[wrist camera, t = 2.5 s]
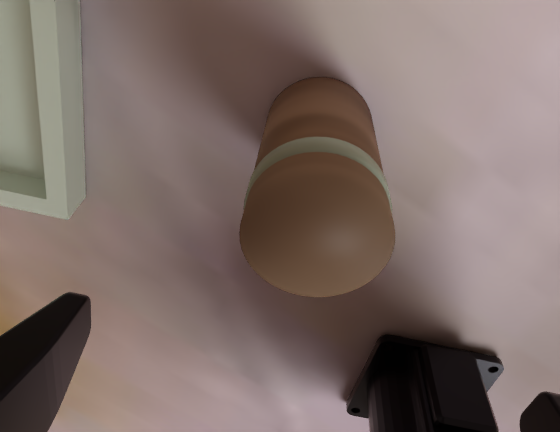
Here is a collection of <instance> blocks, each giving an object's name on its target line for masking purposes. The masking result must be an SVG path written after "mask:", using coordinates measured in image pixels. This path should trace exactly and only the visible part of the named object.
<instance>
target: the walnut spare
mask: <svg viewBox="0 0 560 432" xmlns="http://www.w3.org/2000/svg"><path fill="white" fill-rule="evenodd" d="M394 243H395V229H394V223H393V218H392V205H391V199H390V194H389V190H388V185H387V182H386V179H385V176H384V174H383V170H382V165H381V160H380V156H379V151H378V146H377V141H376V136H375V131H374V127H373V122H372V117H371V113H370V110H369V108H368V105H367V103H366V102H365V100H364V99H363V97H362V96H361V95H360V94H359V93H358V92H357V91H356V90H355V89H354V88H353V87H351V86H349V85H348V84H346V83H344V82H342V81H339V80H336V79H333V78H327V77H314V78H308V79H304V80H301V81H298V82H296V83H294V84H292V85H290V86H289V87H287V88H286V89H285V90H284V91H283V92H281V93H280V94H279V96H278V97H277V98H276V99H275V101H274V102H273V104H272V106H271V108H270V111H269V114H268V117H267V121H266V125H265V129H264V133H263V137H262V141H261V145H260V149H259V153H258V157H257V161H256V165H255V169H254V172H253V174H252V176H251V178H250V182H249V185H248V189H247V193H246V197H245V201H244V212H243V216H242V220H241V224H240V244H241V248H242V251H243V254H244V256H245V258H246V260H247V262H248V263H249V265H250V266H251V267H252V269H253V270H254V271H255V272H256V273H257V274H258V275H259V276H260V277H261V278H263V279H264V280H265V281H266V282H268V283H270V284H271V285H273V286H275V287H277V288H279V289H281V290H283V291H286V292H289V293H292V294H296V295H300V296H307V297H330V296H337V295H341V294H345V293H348V292H351V291H354V290H356V289H358V288H360V287H362V286H364V285H365V284H367V283H369V282H370V281H371V280H372V279H374V278H375V277H376V276H377V275H378V274H379V273H380V272H381V271H382V270H383V268H384V267H385V266H386V264H387V263H388V261H389V259H390V257H391V254H392V252H393V249H394Z"/></svg>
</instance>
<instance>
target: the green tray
mask: <svg viewBox="0 0 560 432" xmlns="http://www.w3.org/2000/svg"><path fill="white" fill-rule="evenodd" d="M85 198H86V184H85V150H84V117H83V83H82V50H81V16H80V0H0V206H4V207H9V208H14V209H18V210H23V211H28V212H32V213H37V214H42V215H46V216H51V217H56V218H60V219H65V220H68V219H69V218H70V217H71V216H72V214H73V213H74V212H75V210H76V209H77V208H78V207H79V205H80V204H81V203H82V202H83V200H84V199H85Z"/></svg>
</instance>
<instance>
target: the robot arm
mask: <svg viewBox="0 0 560 432" xmlns="http://www.w3.org/2000/svg"><path fill="white" fill-rule="evenodd" d="M90 329H91V301H90V298H89V297H88V296H86V295H82V294H77V293H73V292H68V293H65V294H63V295H62V296H60V297H58V298H57V299H55V300H54V301H52V302H51V303H49V304H48V305H46V306H45V307H43V308H42V309H40V310H39V311H37V312H36V313H34V314H33V315H31V316H30V317H28V318H27V319H25V320H24V321H22V322H20V323H19V324H17V325H16V326H14V327H13V328H11V329H10V330H8V331H7V332H5V333H4V334H2V335H1V336H0V432H47V431H48V430H49V428H50V426H51V424H52V422H53V420H54V418H55V416H56V414H57V412H58V410H59V408H60V405H61V403H62V401H63V398H64V396H65V393H66V391H67V388H68V386H69V384H70V381H71V379H72V376H73V374H74V371H75V369H76V366H77V364H78V361H79V359H80V356H81V354H82V352H83V349H84V347H85V344H86V342H87V339H88V337H89V334H90ZM503 370H504V368H503V365H502V362H501V360H500V359H499V358H497V357H493V356H488V355H484V354H479V353H474V352H469V351H464V350H460V349H455V348H450V347H445V346H440V345H436V344H431V343H426V342H421V341H416V340H412V339H407V338H402V337H397V336H392V335H384V336H382V337H380V338H379V339H378V341H377V343H376V345H375V347H374V349H373V351H372V353H371V355H370V357H369V359H368V361H367V363H366V365H365V367H364V369H363V371H362V373H361V375H360V377H359V379H358V381H357V383H356V385H355V387H354V389H353V391H352V393H351V395H350V397H349V399H348V401H347V404H346V405H347V412H348V413H349V414H350V415H353V416H358V417H363V418H369V427H370V432H499V431H498V426H497V423H496V420H495V416H494V413H493V410H492V407H491V404H490V401H489V398H488V395H487V391H488V390H489V389H490V387H491V386H492V385H493V384H494V382H495V381H496V380H497V378H498V377H499V376H500V374H501V373H502V372H503ZM520 431H521V432H560V394H556V393H551V392H541V393H540V394H538V396H537V397H536V398H535V399H534V400H533V401H532V402H531V404H530V405H529V406H528V407H527V408H526V409H525V410H524V412H523V413H522V415H521V418H520Z"/></svg>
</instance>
